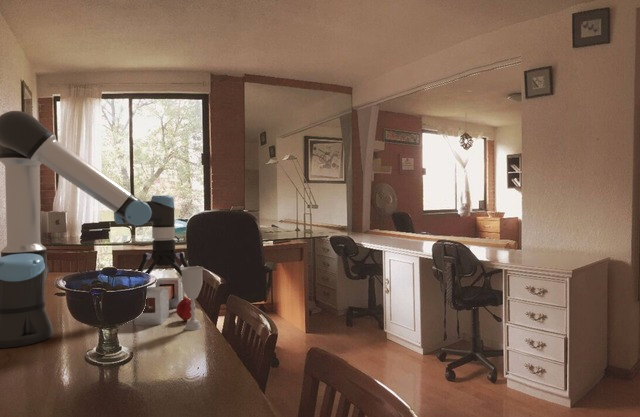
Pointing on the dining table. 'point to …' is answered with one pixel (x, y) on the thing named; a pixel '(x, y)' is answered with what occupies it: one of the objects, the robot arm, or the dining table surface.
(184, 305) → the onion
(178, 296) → the socket
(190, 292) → the chalice
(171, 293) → the pink square post
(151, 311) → the plate
